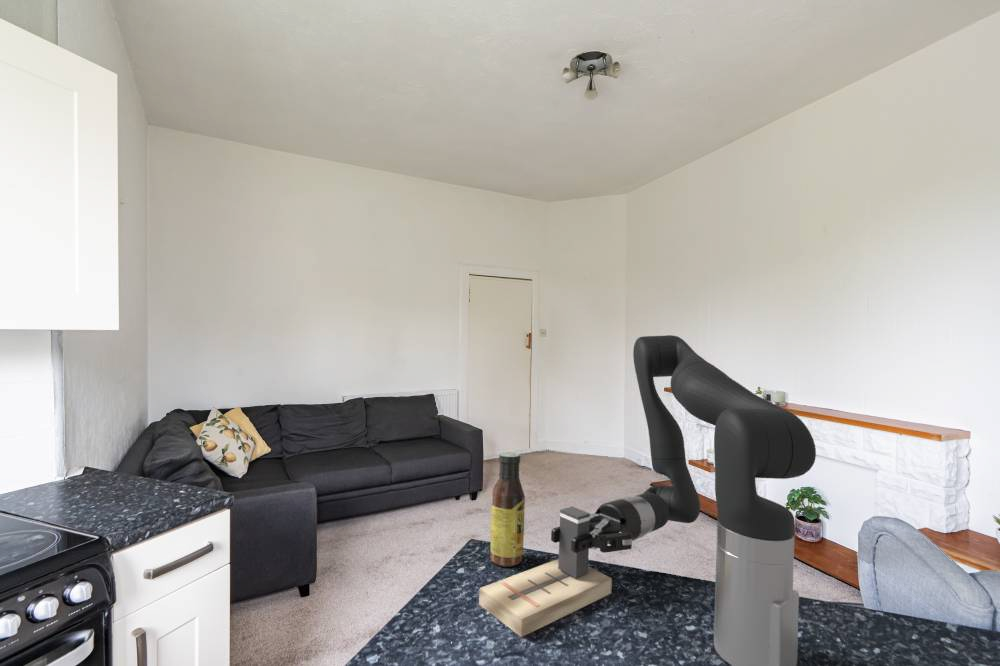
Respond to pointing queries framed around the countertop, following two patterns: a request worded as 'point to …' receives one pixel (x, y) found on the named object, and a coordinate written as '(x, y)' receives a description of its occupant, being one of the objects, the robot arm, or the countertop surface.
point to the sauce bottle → (507, 513)
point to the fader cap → (571, 527)
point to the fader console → (541, 596)
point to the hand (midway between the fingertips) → (563, 540)
